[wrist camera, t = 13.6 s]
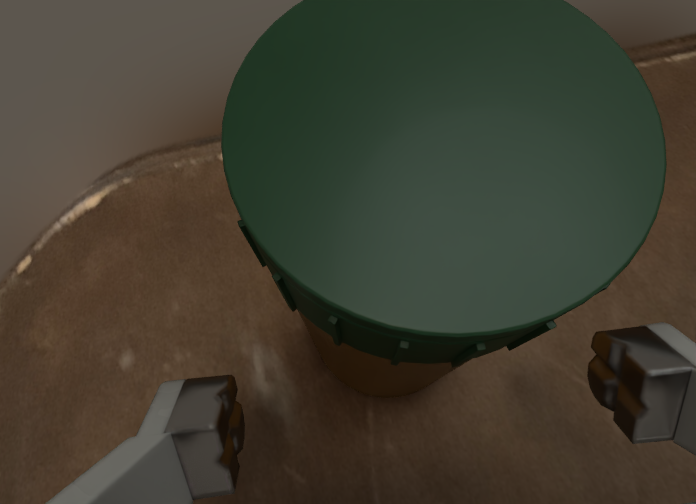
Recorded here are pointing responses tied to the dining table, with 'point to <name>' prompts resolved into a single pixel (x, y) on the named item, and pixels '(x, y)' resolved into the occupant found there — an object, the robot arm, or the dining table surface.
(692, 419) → the robot arm
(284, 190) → the lid
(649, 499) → the dining table surface
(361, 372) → the jar
